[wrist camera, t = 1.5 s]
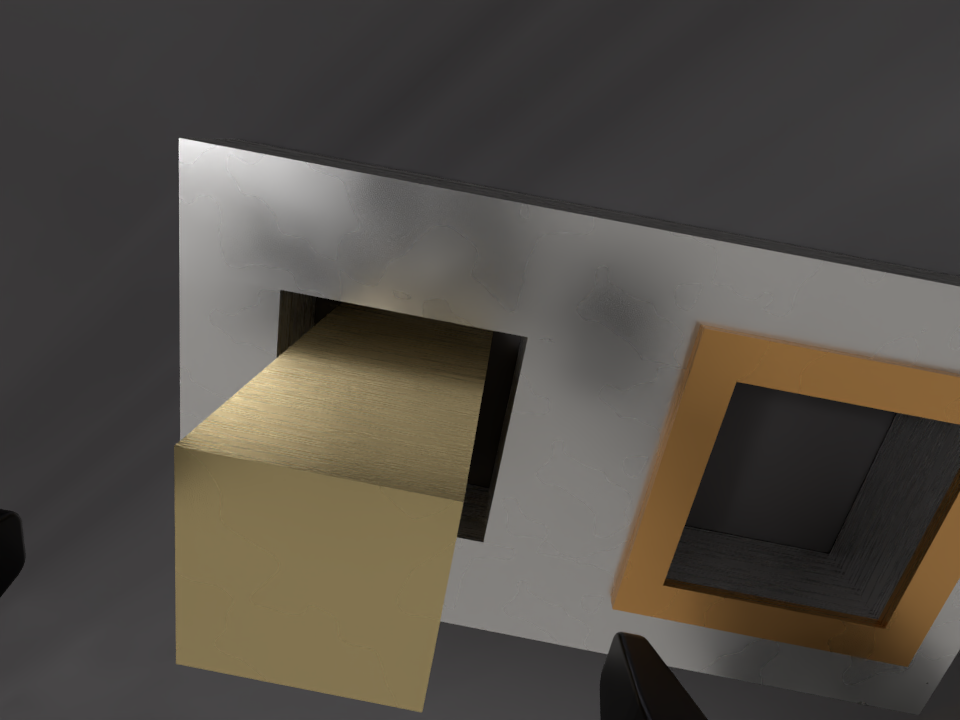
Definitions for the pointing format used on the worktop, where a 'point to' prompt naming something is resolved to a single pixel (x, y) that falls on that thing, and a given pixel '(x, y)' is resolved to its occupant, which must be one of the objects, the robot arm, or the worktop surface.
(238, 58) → the worktop surface
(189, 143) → the rail plate
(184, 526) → the brass peg
